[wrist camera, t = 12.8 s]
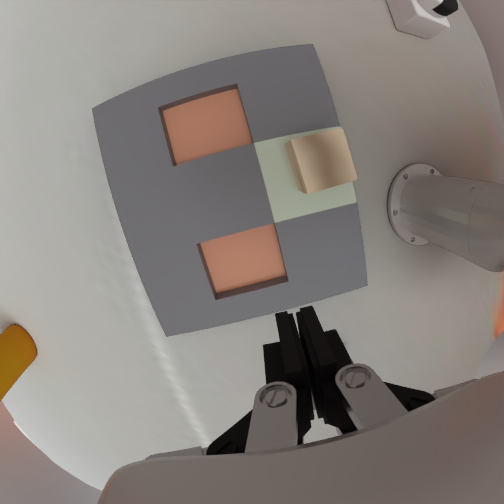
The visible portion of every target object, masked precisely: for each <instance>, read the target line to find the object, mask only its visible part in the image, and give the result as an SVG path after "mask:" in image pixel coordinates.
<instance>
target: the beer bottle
mask: <svg viewBox="0 0 504 504" xmlns="http://www.w3.org/2000/svg"><path fill="white" fill-rule="evenodd" d="M36 355H37V350H36V346H35V343H34V341H33V340H32V338H31V336H30V335H29V334H28V333H27V332H26V331H25V330H24V329H23V328H22V327H20V326H18V325H11V326H9V327H8V328H7V329H6V330H5V331H4V332H3V333H2V334H1V335H0V401H1V400H2V399H3V397H4V396H5V395H6V393H7V392H8V391H9V390H10V388H11V387H12V386H13V384H14V383H15V382H16V381H17V380H18V378H19V377H20V376H21V375H22V373H23V372H24V371H25V370H26V369H27V367H28V366H29V365H30V364H31V363H32V362H33V361H34V360H35V358H36Z"/></svg>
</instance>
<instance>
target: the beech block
mask: <svg viewBox="0 0 504 504" xmlns="http://www.w3.org/2000/svg"><path fill="white" fill-rule="evenodd" d="M284 145H285V148H286V151H287V154H288V157H289V161H290V164H291V167H292V170H293V173H294V176H295V180H296V183H297V186H298V189H299V191H300V192H303V193H305V194H311V193H314V192H318V191H321V190H324V189H328V188H331V187H334V186H338V185H341V184H345V183H348V182H352V181H355V180H358V179H357V175H356V171H355V168H354V164H353V160H352V157H351V153H350V150H349V147H348V143H347V140H346V137H345V134H344V131H343V127H342V128H338V129H333V130H329V131H324V132H320V133H316V134H312V135H308V136H304V137H300V138H297V139H293V140H290V141H289V142H287V143H285V144H284Z"/></svg>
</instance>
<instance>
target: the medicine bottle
mask: <svg viewBox="0 0 504 504" xmlns="http://www.w3.org/2000/svg"><path fill="white" fill-rule="evenodd" d="M386 2H387V4H388V7H389V9H390V12H391V15H392V18H393V21H394V24H395V27H396V29H397V30H398V31H402V32H405V33H409V34H412V35H415V36H419V37H422V38H425V39H430V38H432V37H433V36H435V35H437V34H439V33H441V32H443V31H445V30H447V29H449V28H450V25H449V22H448V20H447V17H446V16H448V15H450V14H451V13H453V12H455V11H457V10H458V3H457V1H456V0H386Z"/></svg>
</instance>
